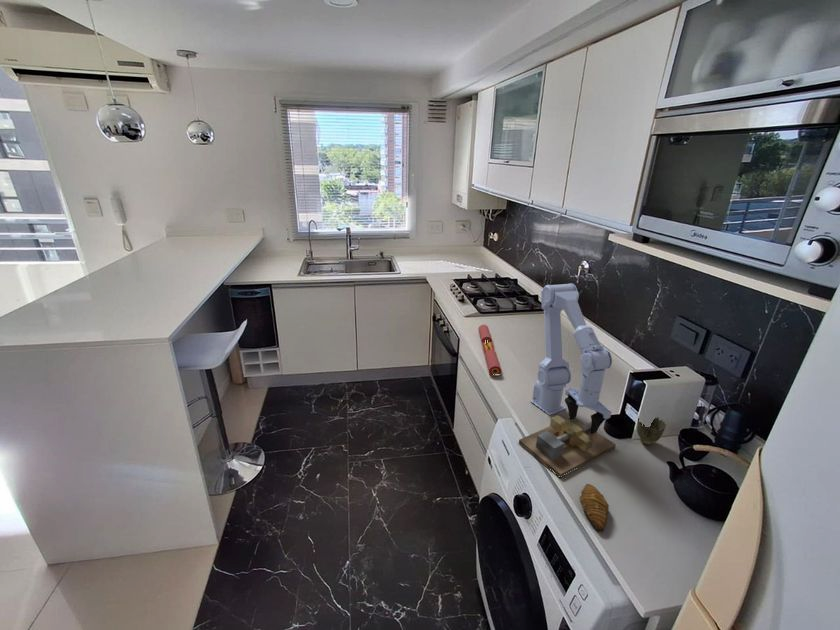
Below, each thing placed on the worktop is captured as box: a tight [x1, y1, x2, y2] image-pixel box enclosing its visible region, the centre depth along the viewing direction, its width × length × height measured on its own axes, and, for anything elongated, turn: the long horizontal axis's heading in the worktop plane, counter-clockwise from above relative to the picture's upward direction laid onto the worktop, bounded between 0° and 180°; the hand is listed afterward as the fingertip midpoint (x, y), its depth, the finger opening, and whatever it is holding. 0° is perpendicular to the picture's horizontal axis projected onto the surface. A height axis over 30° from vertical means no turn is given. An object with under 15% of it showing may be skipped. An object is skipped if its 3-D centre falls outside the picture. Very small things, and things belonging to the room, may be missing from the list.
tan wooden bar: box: [549, 414, 593, 451], centre depth 117 cm, size 13×3×5 cm, turn 30°
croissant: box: [579, 483, 610, 532], centre depth 96 cm, size 14×7×5 cm, turn 170°
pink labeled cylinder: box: [477, 324, 502, 376], centre depth 175 cm, size 42×5×5 cm, turn 178°
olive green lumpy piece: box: [636, 416, 667, 446], centre depth 119 cm, size 8×7×8 cm
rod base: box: [518, 417, 617, 478], centre depth 118 cm, size 16×24×6 cm, turn 120°
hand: (582, 425), depth 119 cm, fingers open, 7 cm apart
